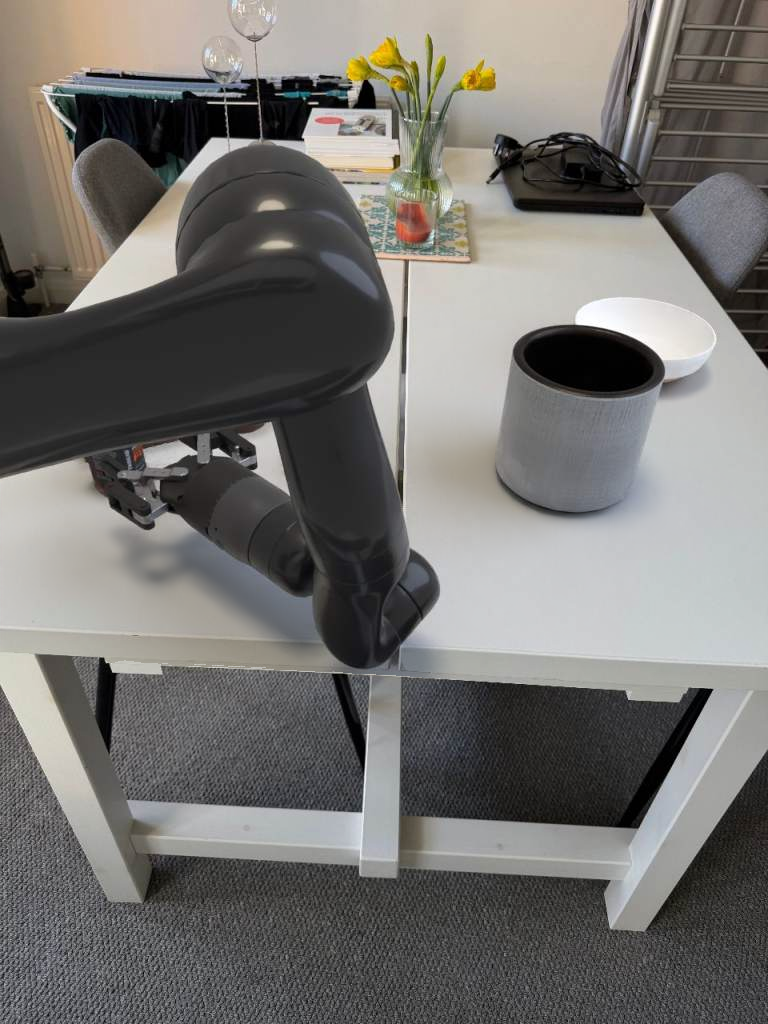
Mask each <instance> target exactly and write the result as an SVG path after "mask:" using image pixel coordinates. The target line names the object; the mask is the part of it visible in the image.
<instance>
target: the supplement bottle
mask: <svg viewBox="0 0 768 1024" xmlns="http://www.w3.org/2000/svg"><path fill="white" fill-rule="evenodd" d="M144 452H145V451H144V448H142V445H138V446H133V447H128V448H123V449H118V450H113V451H108V452H104V453H100V454H96V455H92V456H88V457H87V460H88V462H87V463H88V466H89V469H90V473H91V476H92V479H93V480H92V481H93V483H94V485H95V487H96V488H97V489H98V491H100V492H102V493H104V494H106V495H107V493H106V491H105V488H104V485H105V484H106V483H108V482H109V481H107V480H106V479H105V478H103V475H102V472H101V468H100V465H99V463H101V460H100V457H102V456H104V455H106V454H108V455H110V456H111V457H113V458H114V459H115V460H117V461H118V462H120V463H121V464H122V465H124V466H125V467H127V470H131V471H143V470H144V468H147V467H148V465H147V462H146V458H145V457H146V456H145V453H144ZM133 484H134V486H136V487H142V484H141V483H137V482H133Z"/></svg>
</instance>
